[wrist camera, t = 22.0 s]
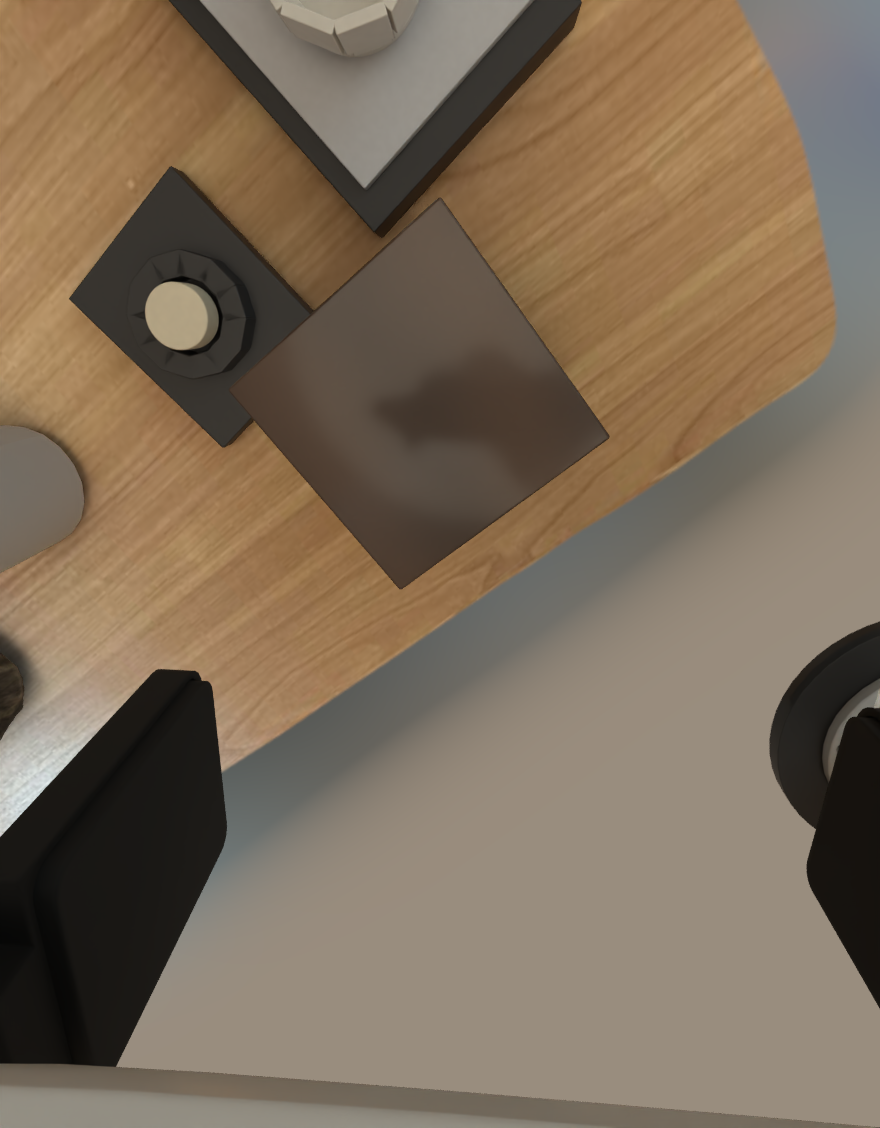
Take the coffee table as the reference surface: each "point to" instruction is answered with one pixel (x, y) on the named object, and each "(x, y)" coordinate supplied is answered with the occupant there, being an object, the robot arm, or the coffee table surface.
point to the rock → (9, 693)
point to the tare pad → (210, 261)
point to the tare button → (181, 315)
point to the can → (35, 495)
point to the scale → (386, 87)
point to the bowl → (347, 23)
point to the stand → (420, 400)
